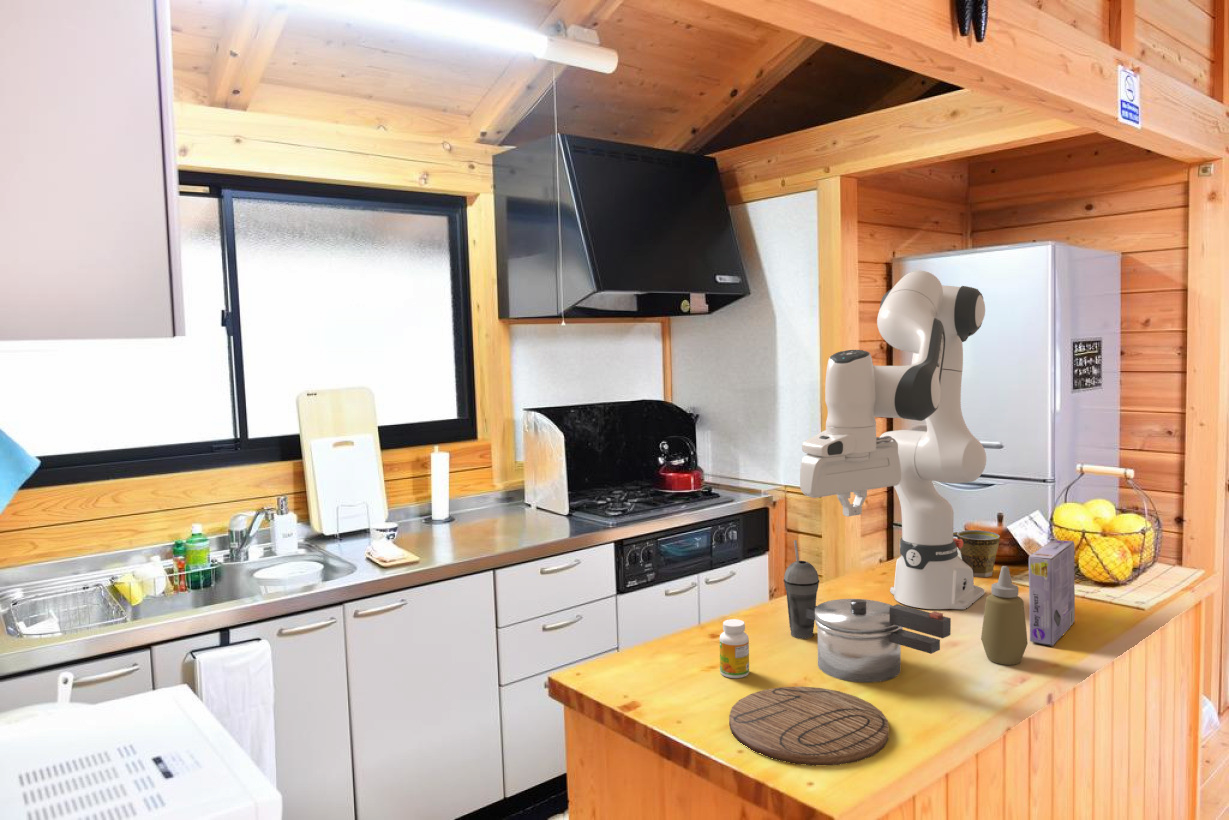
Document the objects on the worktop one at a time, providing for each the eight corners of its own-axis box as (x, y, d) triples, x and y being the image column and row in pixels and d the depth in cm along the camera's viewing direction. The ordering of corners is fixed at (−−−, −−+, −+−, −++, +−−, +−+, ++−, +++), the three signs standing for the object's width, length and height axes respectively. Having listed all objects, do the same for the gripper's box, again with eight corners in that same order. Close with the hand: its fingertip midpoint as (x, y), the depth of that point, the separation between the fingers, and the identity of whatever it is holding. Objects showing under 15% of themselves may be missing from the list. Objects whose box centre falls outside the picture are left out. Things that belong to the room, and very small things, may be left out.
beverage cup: (820, 641, 181) (819, 545, 179) (783, 640, 183) (782, 544, 181) (819, 629, 189) (818, 536, 187) (784, 628, 190) (783, 535, 188)
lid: (849, 599, 178) (849, 575, 178) (971, 632, 158) (971, 605, 158) (797, 617, 168) (796, 592, 168) (920, 655, 148) (920, 627, 148)
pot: (835, 640, 182) (835, 597, 181) (958, 678, 161) (959, 630, 160) (785, 661, 171) (785, 615, 171) (910, 704, 151) (910, 653, 150)
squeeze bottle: (991, 648, 175) (992, 558, 173) (1034, 659, 169) (1035, 566, 167) (973, 660, 169) (974, 567, 167) (1017, 671, 164) (1018, 575, 162)
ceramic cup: (1007, 575, 223) (1008, 535, 222) (981, 581, 218) (982, 541, 217) (964, 563, 234) (964, 526, 233) (938, 569, 229) (938, 531, 228)
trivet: (697, 726, 146) (697, 715, 146) (799, 684, 161) (798, 674, 161) (818, 786, 127) (818, 773, 126) (921, 732, 142) (921, 721, 142)
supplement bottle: (714, 670, 168) (713, 620, 167) (739, 665, 170) (738, 616, 169) (729, 681, 163) (728, 629, 162) (754, 675, 165) (754, 624, 164)
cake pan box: (1051, 617, 192) (1053, 536, 190) (1077, 621, 189) (1079, 539, 187) (1026, 643, 177) (1027, 556, 176) (1053, 648, 174) (1055, 559, 172)
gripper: (885, 432, 169) (886, 504, 171) (794, 444, 161) (796, 519, 163) (908, 436, 163) (909, 510, 165) (815, 448, 155) (816, 526, 157)
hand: (852, 515), depth 164 cm, fingers closed
